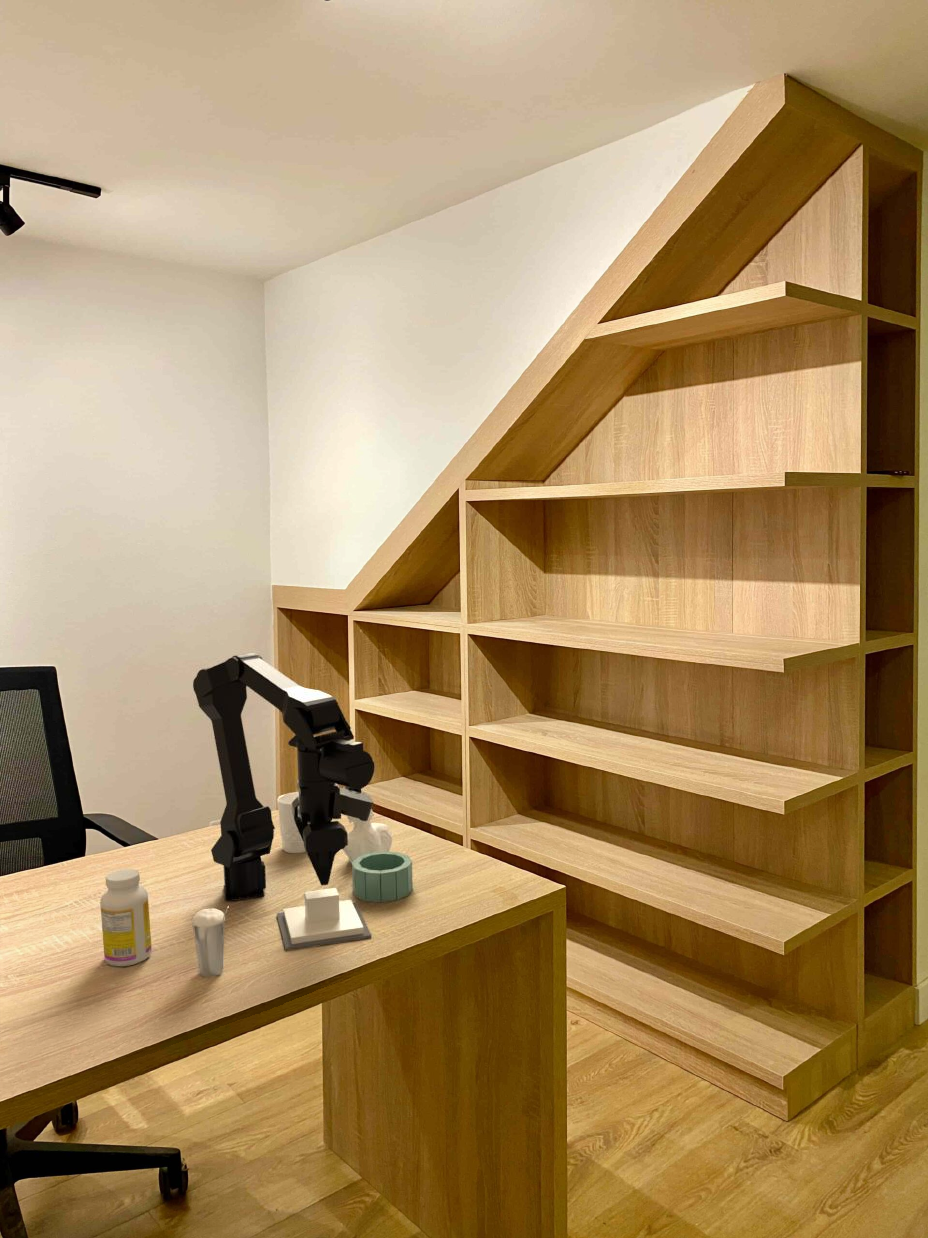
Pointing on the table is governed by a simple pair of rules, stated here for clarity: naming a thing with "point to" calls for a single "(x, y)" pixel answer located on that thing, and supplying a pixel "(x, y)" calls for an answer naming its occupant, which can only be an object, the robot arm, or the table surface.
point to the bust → (367, 838)
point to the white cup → (289, 825)
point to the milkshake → (209, 941)
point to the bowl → (382, 876)
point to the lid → (322, 917)
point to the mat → (325, 941)
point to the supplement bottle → (125, 919)
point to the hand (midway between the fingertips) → (320, 873)
